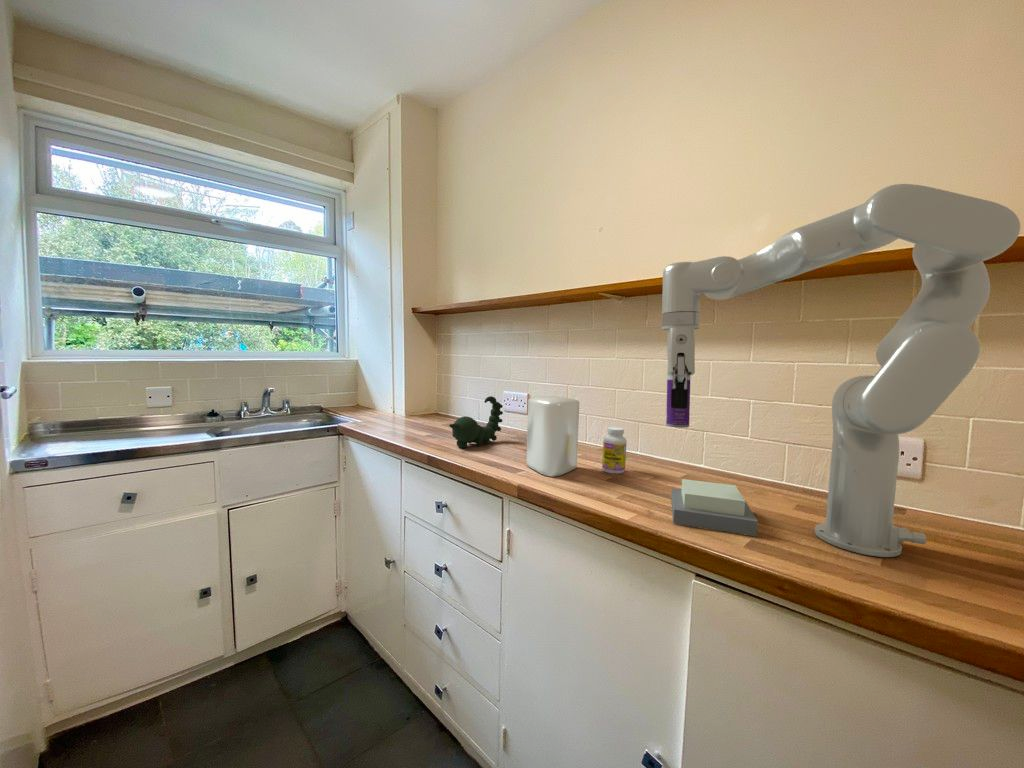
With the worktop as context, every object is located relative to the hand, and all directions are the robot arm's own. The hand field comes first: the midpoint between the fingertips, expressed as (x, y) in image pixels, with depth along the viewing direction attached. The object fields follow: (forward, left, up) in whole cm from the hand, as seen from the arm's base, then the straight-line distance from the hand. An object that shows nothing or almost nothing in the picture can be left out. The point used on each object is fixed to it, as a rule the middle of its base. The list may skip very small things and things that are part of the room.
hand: (678, 405), depth 89 cm
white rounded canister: (+32, -20, -24) cm, 45 cm away
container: (0, 0, -5) cm, 5 cm away
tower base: (-8, 0, -24) cm, 25 cm away
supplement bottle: (+15, -28, -24) cm, 40 cm away
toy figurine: (+66, -41, -24) cm, 82 cm away
